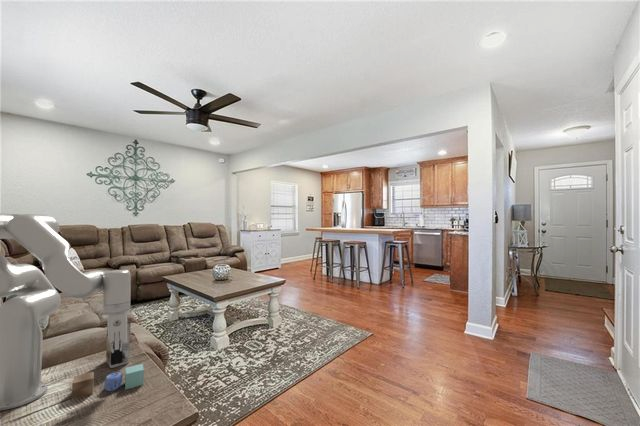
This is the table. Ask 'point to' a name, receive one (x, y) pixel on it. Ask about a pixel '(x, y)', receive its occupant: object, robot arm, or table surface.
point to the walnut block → (82, 385)
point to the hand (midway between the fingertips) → (116, 363)
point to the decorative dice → (113, 381)
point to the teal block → (134, 376)
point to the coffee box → (124, 346)
